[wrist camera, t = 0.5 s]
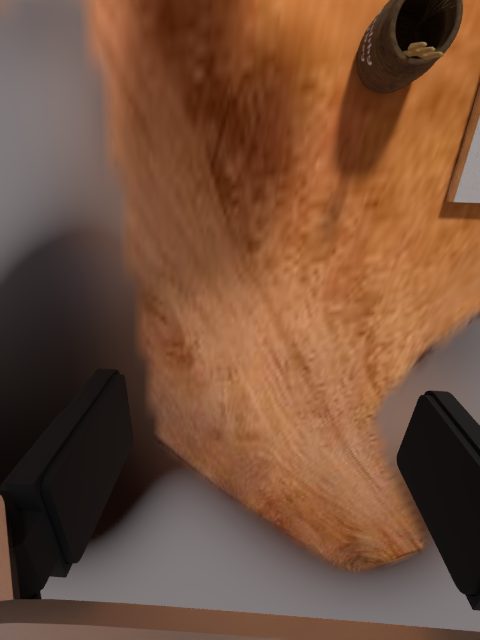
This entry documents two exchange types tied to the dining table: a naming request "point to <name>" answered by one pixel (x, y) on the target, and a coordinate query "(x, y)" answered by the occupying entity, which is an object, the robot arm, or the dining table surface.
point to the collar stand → (468, 162)
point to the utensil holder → (406, 41)
